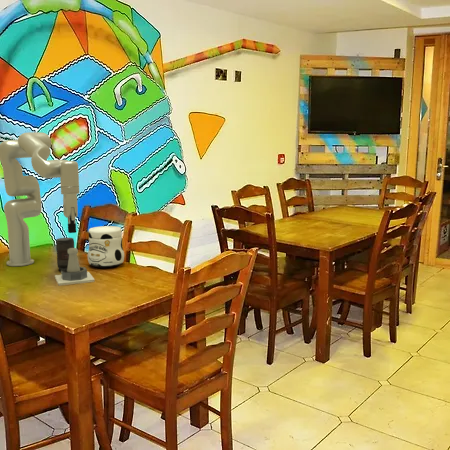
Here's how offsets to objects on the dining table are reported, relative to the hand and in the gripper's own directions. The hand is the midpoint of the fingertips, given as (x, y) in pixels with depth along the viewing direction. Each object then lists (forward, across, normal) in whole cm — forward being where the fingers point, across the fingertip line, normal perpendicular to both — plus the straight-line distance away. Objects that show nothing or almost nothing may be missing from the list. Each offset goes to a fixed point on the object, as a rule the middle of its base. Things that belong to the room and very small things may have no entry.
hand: (72, 232), depth 238 cm
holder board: (+21, 0, 0) cm, 21 cm away
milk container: (+21, -20, +18) cm, 34 cm away
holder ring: (+21, 0, 0) cm, 21 cm away
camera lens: (+21, -18, -1) cm, 28 cm away
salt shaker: (+20, 0, 0) cm, 20 cm away
